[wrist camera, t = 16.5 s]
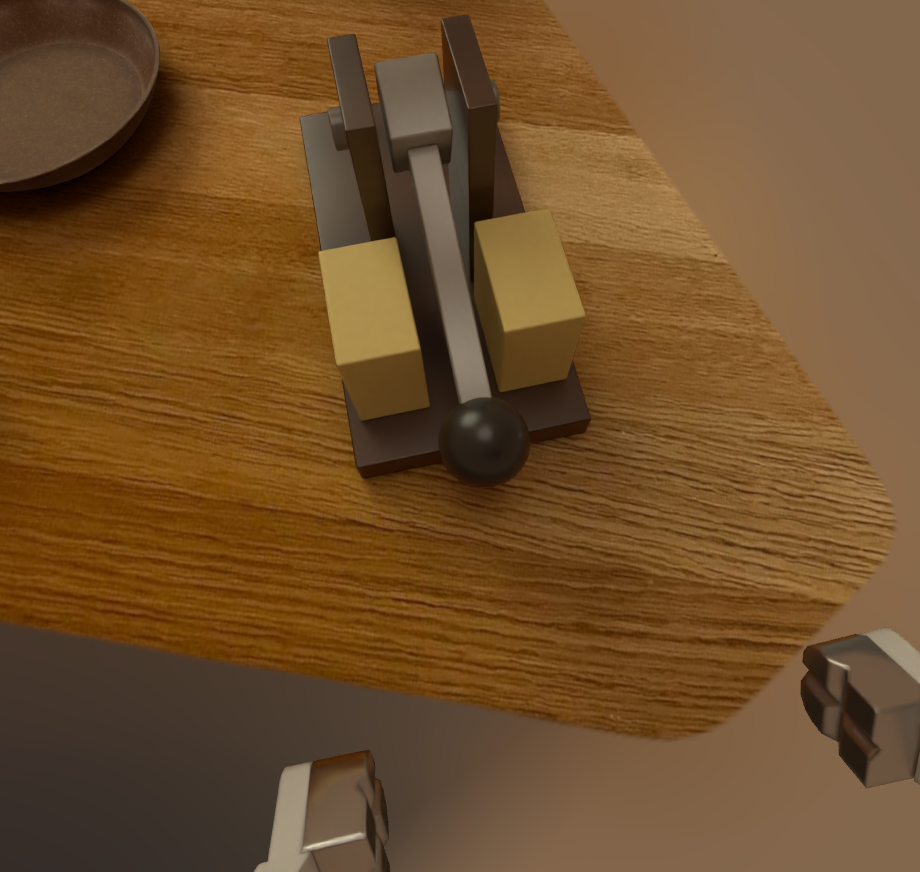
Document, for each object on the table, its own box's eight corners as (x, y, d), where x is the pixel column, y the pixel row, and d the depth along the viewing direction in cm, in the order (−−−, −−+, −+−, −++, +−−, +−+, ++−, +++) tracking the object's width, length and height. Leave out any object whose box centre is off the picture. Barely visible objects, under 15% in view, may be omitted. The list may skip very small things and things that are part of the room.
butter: (537, 284, 28) (549, 206, 24) (567, 379, 27) (586, 316, 22) (343, 322, 28) (317, 250, 23) (360, 421, 26) (335, 366, 21)
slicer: (585, 432, 27) (651, 288, 17) (362, 479, 27) (294, 358, 17) (483, 107, 34) (487, -128, 24) (306, 139, 34) (235, -88, 24)
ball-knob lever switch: (530, 476, 23) (546, 477, 20) (447, 494, 23) (450, 498, 20) (448, 97, 24) (451, 40, 21) (367, 112, 24) (357, 56, 21)
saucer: (-122, 103, 36) (-168, 59, 33) (111, -6, 39) (86, -54, 36) (-27, 270, 31) (-72, 234, 29) (228, 132, 34) (209, 89, 32)
